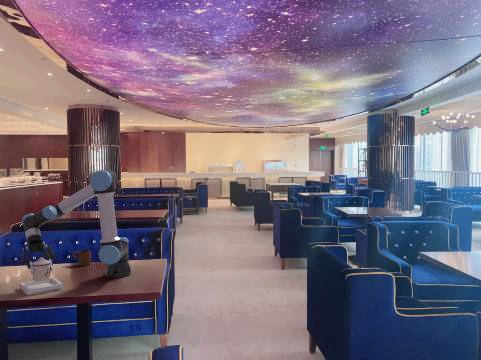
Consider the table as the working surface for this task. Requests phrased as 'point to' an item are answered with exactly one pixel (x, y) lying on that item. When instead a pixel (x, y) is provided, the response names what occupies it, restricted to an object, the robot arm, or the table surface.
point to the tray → (41, 286)
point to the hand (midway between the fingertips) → (42, 271)
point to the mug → (83, 257)
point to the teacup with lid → (41, 270)
